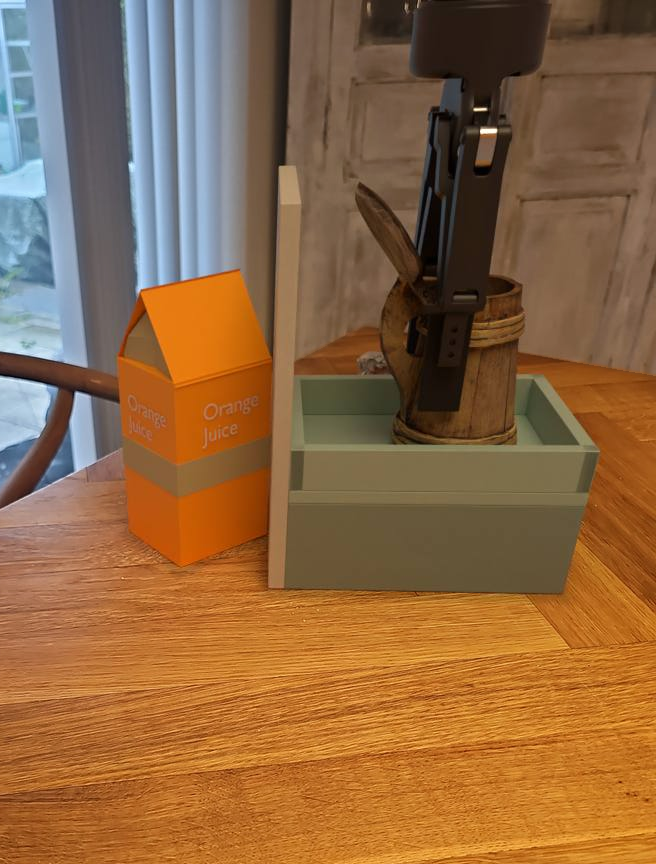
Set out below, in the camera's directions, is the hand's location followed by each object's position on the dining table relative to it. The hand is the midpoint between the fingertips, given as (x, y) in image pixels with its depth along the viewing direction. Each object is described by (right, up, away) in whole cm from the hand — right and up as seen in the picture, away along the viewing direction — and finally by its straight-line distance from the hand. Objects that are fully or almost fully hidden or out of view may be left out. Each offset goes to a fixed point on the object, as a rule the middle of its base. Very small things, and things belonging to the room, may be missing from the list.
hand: (429, 389), depth 63 cm
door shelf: (0, -10, +7) cm, 12 cm away
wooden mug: (0, -4, +2) cm, 4 cm away
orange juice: (-16, -9, +10) cm, 21 cm away
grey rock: (+8, +10, +35) cm, 37 cm away
